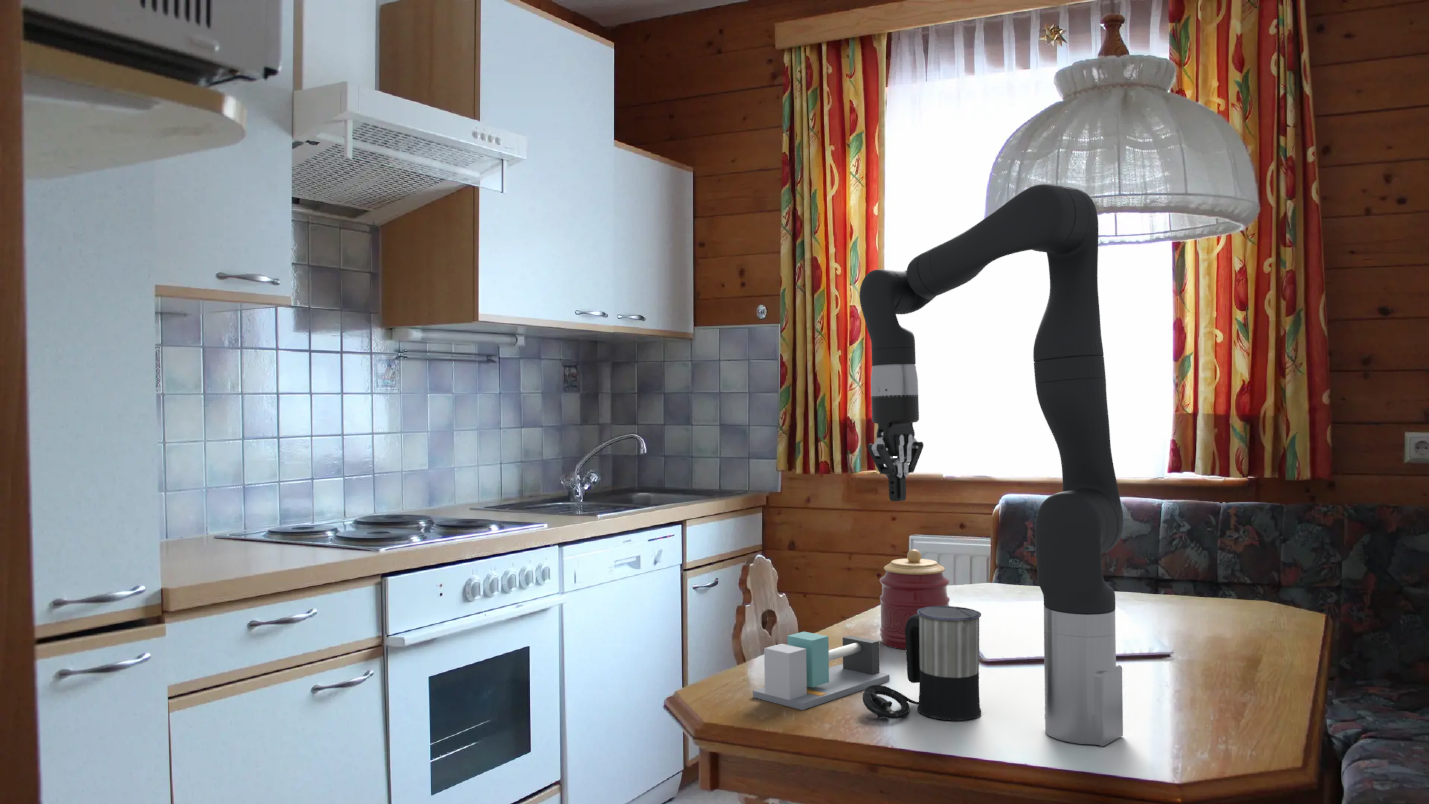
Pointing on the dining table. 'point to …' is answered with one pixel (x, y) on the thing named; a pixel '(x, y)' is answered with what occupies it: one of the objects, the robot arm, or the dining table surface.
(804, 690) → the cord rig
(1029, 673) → the dining table surface
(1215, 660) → the dining table surface
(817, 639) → the sleeve
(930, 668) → the milk frother
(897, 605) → the canister
